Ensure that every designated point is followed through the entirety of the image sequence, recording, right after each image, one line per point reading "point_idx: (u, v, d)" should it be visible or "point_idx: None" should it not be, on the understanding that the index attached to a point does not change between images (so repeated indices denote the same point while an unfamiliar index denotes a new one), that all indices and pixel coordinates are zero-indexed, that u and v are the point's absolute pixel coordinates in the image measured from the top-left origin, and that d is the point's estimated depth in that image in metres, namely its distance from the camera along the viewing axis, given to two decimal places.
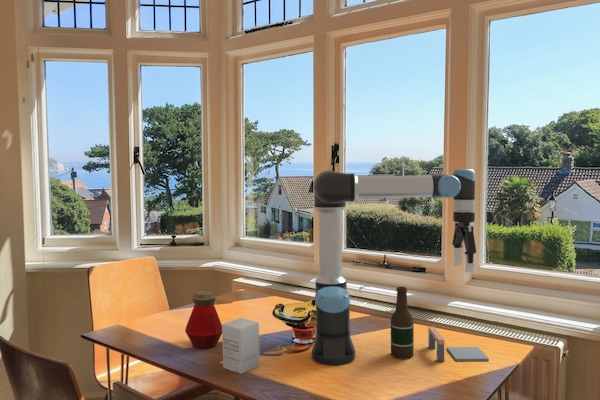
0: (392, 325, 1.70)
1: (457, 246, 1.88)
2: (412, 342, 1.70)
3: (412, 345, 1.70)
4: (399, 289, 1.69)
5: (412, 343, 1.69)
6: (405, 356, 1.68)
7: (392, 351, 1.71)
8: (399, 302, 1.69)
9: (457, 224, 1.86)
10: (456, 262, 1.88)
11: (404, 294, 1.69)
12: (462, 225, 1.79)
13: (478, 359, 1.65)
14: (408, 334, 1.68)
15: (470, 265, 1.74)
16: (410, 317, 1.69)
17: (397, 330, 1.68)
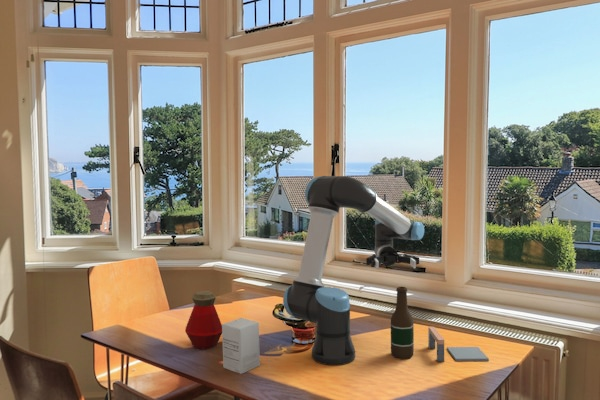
0: (392, 325, 1.70)
1: None
2: (412, 342, 1.70)
3: (412, 345, 1.70)
4: (399, 289, 1.69)
5: (412, 343, 1.69)
6: (405, 356, 1.68)
7: (392, 351, 1.71)
8: (399, 302, 1.69)
9: None
10: None
11: (404, 294, 1.69)
12: None
13: (478, 359, 1.65)
14: (408, 334, 1.68)
15: None
16: (410, 317, 1.69)
17: (397, 330, 1.68)
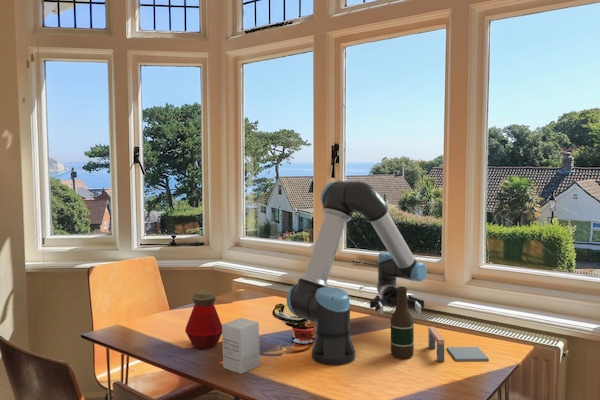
0: (392, 325, 1.70)
1: None
2: (412, 342, 1.70)
3: (412, 345, 1.70)
4: (399, 289, 1.69)
5: (412, 343, 1.69)
6: (405, 356, 1.68)
7: (392, 351, 1.71)
8: (399, 302, 1.69)
9: None
10: None
11: (404, 294, 1.69)
12: None
13: (478, 359, 1.65)
14: (408, 334, 1.68)
15: None
16: (410, 317, 1.69)
17: (397, 330, 1.68)
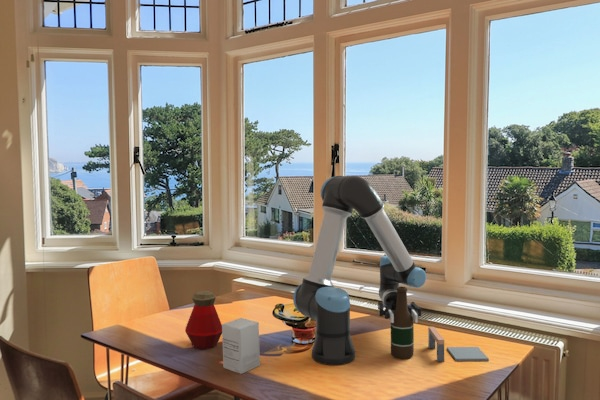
0: (392, 325, 1.70)
1: None
2: (412, 342, 1.70)
3: (412, 345, 1.70)
4: (399, 289, 1.69)
5: (412, 343, 1.69)
6: (405, 356, 1.68)
7: (392, 351, 1.71)
8: (399, 302, 1.69)
9: None
10: None
11: (404, 294, 1.69)
12: None
13: (478, 359, 1.65)
14: (408, 334, 1.68)
15: None
16: (410, 317, 1.69)
17: (397, 329, 1.68)
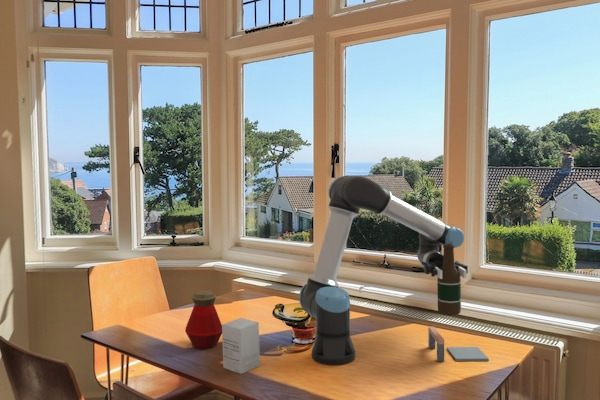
0: (439, 282, 1.70)
1: None
2: (460, 298, 1.69)
3: (460, 301, 1.69)
4: (446, 245, 1.69)
5: (459, 299, 1.69)
6: (453, 312, 1.68)
7: (439, 308, 1.70)
8: (446, 259, 1.69)
9: None
10: None
11: (451, 250, 1.69)
12: None
13: (478, 359, 1.65)
14: (456, 290, 1.67)
15: None
16: (457, 273, 1.69)
17: (445, 286, 1.68)
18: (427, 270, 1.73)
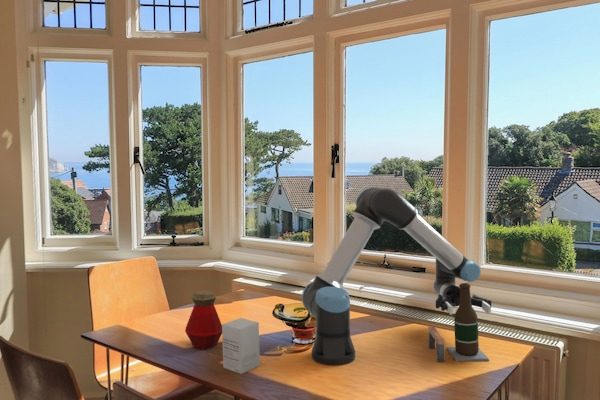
0: (456, 322, 1.69)
1: None
2: (477, 338, 1.69)
3: (477, 341, 1.69)
4: (462, 285, 1.69)
5: (477, 339, 1.69)
6: (471, 353, 1.67)
7: (457, 348, 1.70)
8: (463, 298, 1.69)
9: None
10: None
11: (468, 290, 1.68)
12: None
13: (478, 359, 1.65)
14: (473, 331, 1.67)
15: None
16: (474, 313, 1.68)
17: (462, 326, 1.68)
18: (437, 304, 1.74)
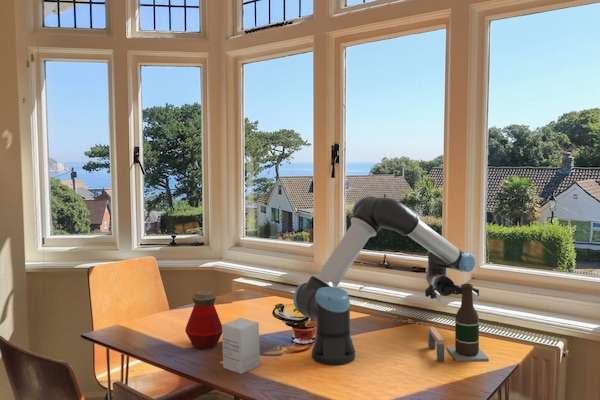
0: (457, 322, 1.69)
1: None
2: (478, 339, 1.69)
3: (478, 342, 1.69)
4: (465, 286, 1.68)
5: (478, 340, 1.69)
6: (471, 353, 1.67)
7: (457, 348, 1.70)
8: (465, 299, 1.68)
9: None
10: None
11: (470, 291, 1.68)
12: None
13: (478, 359, 1.65)
14: (474, 331, 1.67)
15: None
16: (476, 314, 1.68)
17: (463, 326, 1.67)
18: (426, 293, 1.87)
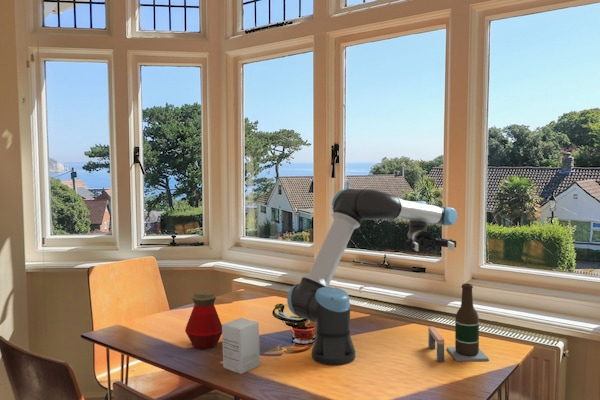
0: (457, 322, 1.69)
1: None
2: (478, 339, 1.69)
3: (478, 342, 1.69)
4: (465, 286, 1.68)
5: (478, 340, 1.69)
6: (471, 353, 1.67)
7: (457, 348, 1.70)
8: (465, 299, 1.68)
9: None
10: None
11: (470, 291, 1.68)
12: None
13: (478, 359, 1.65)
14: (474, 331, 1.67)
15: None
16: (476, 314, 1.68)
17: (463, 326, 1.67)
18: (405, 244, 1.94)
